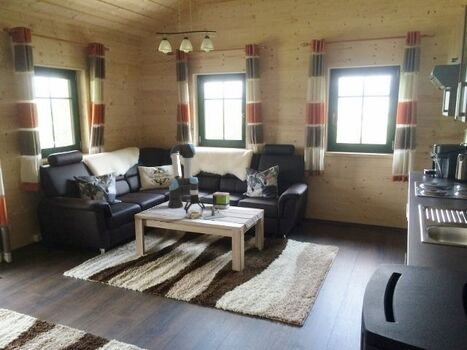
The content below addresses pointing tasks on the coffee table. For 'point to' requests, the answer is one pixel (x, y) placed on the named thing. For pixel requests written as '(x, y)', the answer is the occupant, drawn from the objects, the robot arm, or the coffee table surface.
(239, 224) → the coffee table surface
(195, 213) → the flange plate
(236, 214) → the coffee table surface
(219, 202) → the tea box
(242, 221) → the coffee table surface
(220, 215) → the post base
